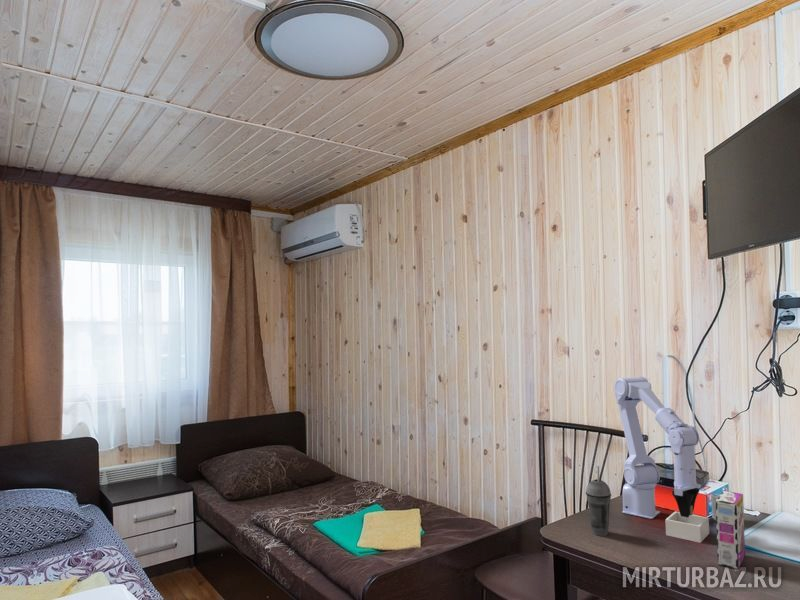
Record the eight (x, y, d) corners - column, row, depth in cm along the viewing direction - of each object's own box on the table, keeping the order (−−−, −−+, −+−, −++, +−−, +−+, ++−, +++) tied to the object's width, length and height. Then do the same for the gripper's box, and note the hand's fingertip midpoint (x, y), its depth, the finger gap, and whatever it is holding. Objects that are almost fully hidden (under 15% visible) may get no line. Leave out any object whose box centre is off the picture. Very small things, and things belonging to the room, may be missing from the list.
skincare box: (742, 524, 170) (741, 500, 170) (722, 524, 170) (721, 500, 171) (730, 517, 176) (729, 494, 176) (711, 518, 176) (710, 494, 177)
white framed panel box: (666, 535, 163) (665, 519, 163) (677, 524, 171) (677, 509, 171) (700, 542, 157) (699, 526, 157) (711, 531, 165) (710, 515, 165)
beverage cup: (609, 528, 169) (606, 462, 170) (616, 537, 162) (613, 468, 163) (584, 528, 170) (582, 462, 171) (590, 537, 162) (587, 468, 163)
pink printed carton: (740, 570, 139) (736, 503, 140) (717, 565, 142) (714, 500, 143) (746, 555, 148) (743, 492, 148) (725, 551, 151) (722, 489, 152)
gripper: (692, 475, 156) (694, 524, 155) (706, 465, 167) (708, 511, 166) (665, 471, 161) (667, 519, 160) (681, 461, 171) (683, 506, 171)
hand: (686, 514), depth 163 cm, fingers closed on plunger, 3 cm apart
